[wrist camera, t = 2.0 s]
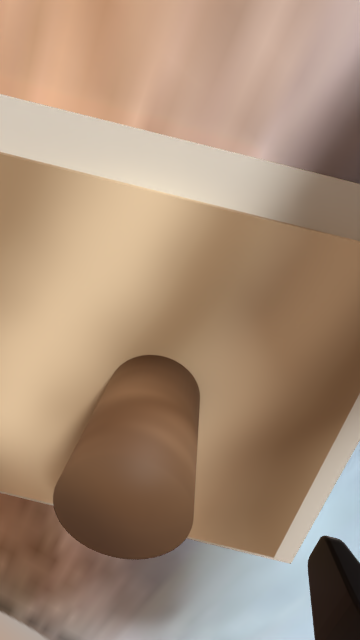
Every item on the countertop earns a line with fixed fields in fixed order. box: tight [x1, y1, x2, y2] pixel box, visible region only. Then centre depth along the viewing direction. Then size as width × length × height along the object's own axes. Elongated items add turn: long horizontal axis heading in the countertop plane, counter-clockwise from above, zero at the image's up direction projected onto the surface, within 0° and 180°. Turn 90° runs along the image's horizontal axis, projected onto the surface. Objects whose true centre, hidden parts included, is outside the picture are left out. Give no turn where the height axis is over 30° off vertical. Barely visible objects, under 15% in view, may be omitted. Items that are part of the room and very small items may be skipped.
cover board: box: [0, 152, 360, 559], centre depth 10 cm, size 13×13×6 cm
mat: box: [0, 94, 360, 564], centre depth 13 cm, size 16×16×1 cm
